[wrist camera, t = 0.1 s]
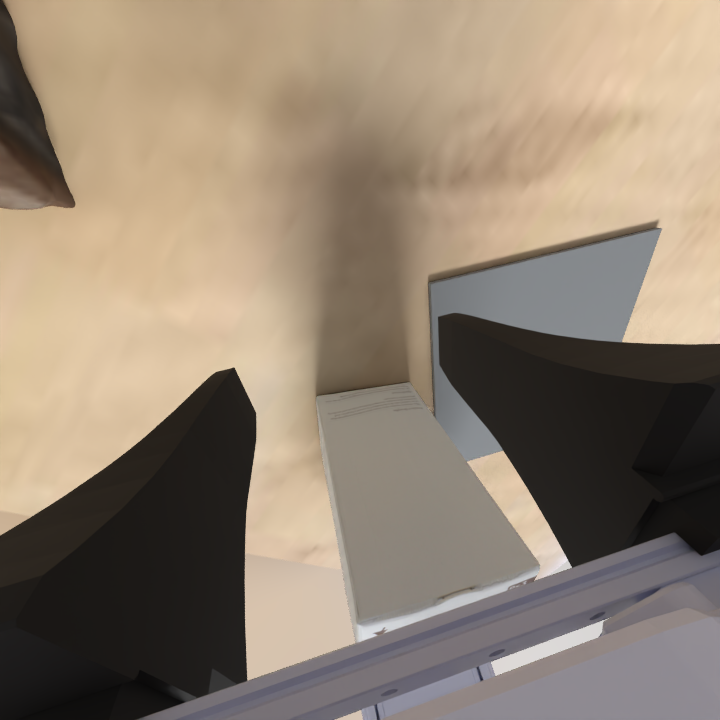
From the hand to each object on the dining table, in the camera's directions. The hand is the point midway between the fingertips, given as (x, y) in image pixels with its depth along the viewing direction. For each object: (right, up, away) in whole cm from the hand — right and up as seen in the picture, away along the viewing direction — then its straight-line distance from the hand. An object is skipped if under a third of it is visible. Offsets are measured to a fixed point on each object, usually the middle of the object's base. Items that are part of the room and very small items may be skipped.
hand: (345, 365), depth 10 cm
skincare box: (+1, -4, +15) cm, 16 cm away
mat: (+16, 0, +16) cm, 22 cm away
